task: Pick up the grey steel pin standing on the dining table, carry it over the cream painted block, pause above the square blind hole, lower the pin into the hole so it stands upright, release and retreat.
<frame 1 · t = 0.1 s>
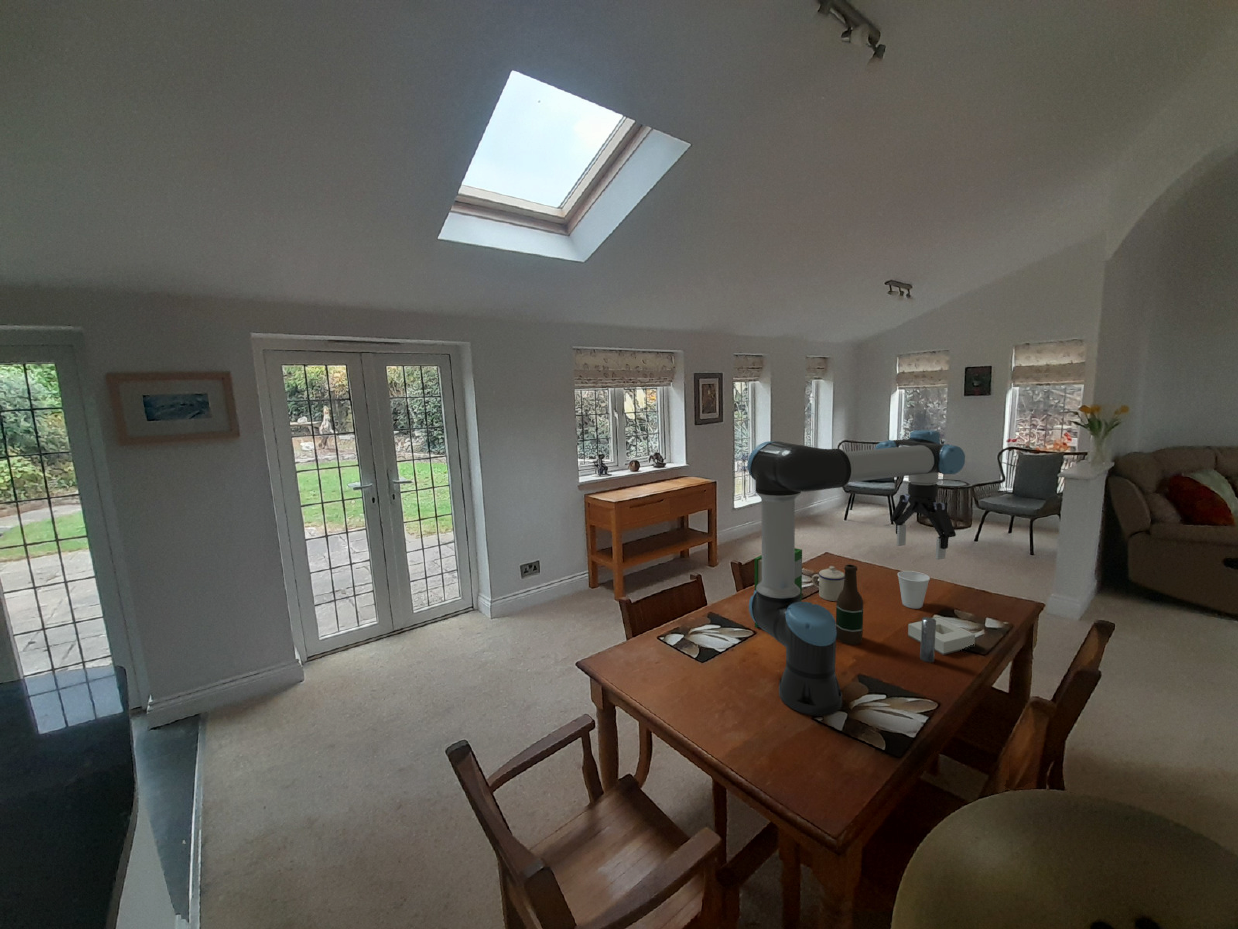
hand: (919, 551, 148), 28 cm above the table, fingers open, 13 cm apart
cup: (912, 606, 174), on the table
bore block: (940, 641, 150), on the table
teacup with lid: (827, 596, 185), on the table
pin: (927, 659, 141), on the table
beer bottle: (848, 639, 153), on the table
hardback book: (778, 622, 167), on the table
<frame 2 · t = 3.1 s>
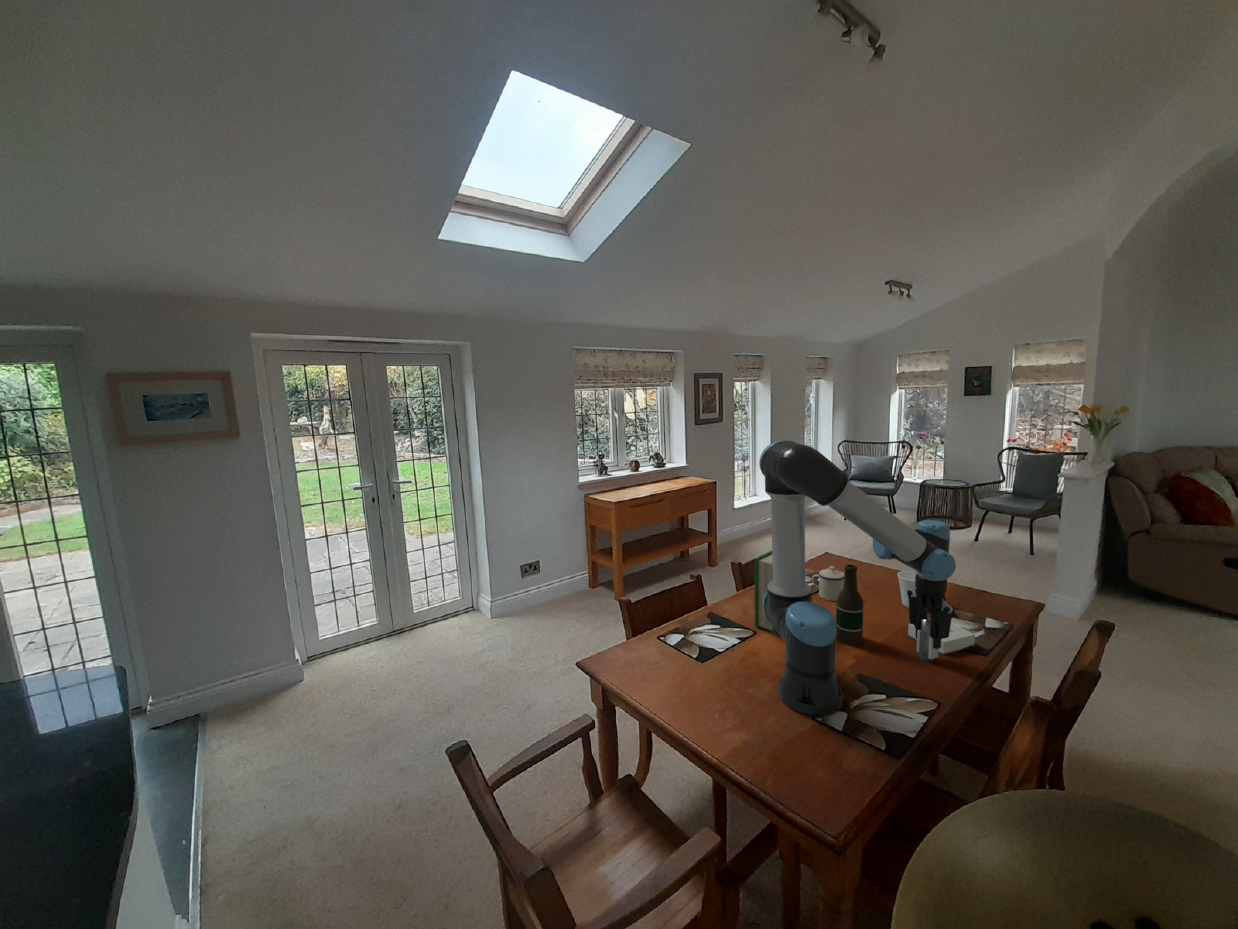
hand: (927, 654, 140), 2 cm above the table, fingers closed on pin, 3 cm apart
pin: (926, 659, 141), on the table, touching gripper
everything else where it was.
when the fingers open (5 cm above the table, at t = 8.0 s): pin stays where it is, resting on bore block.
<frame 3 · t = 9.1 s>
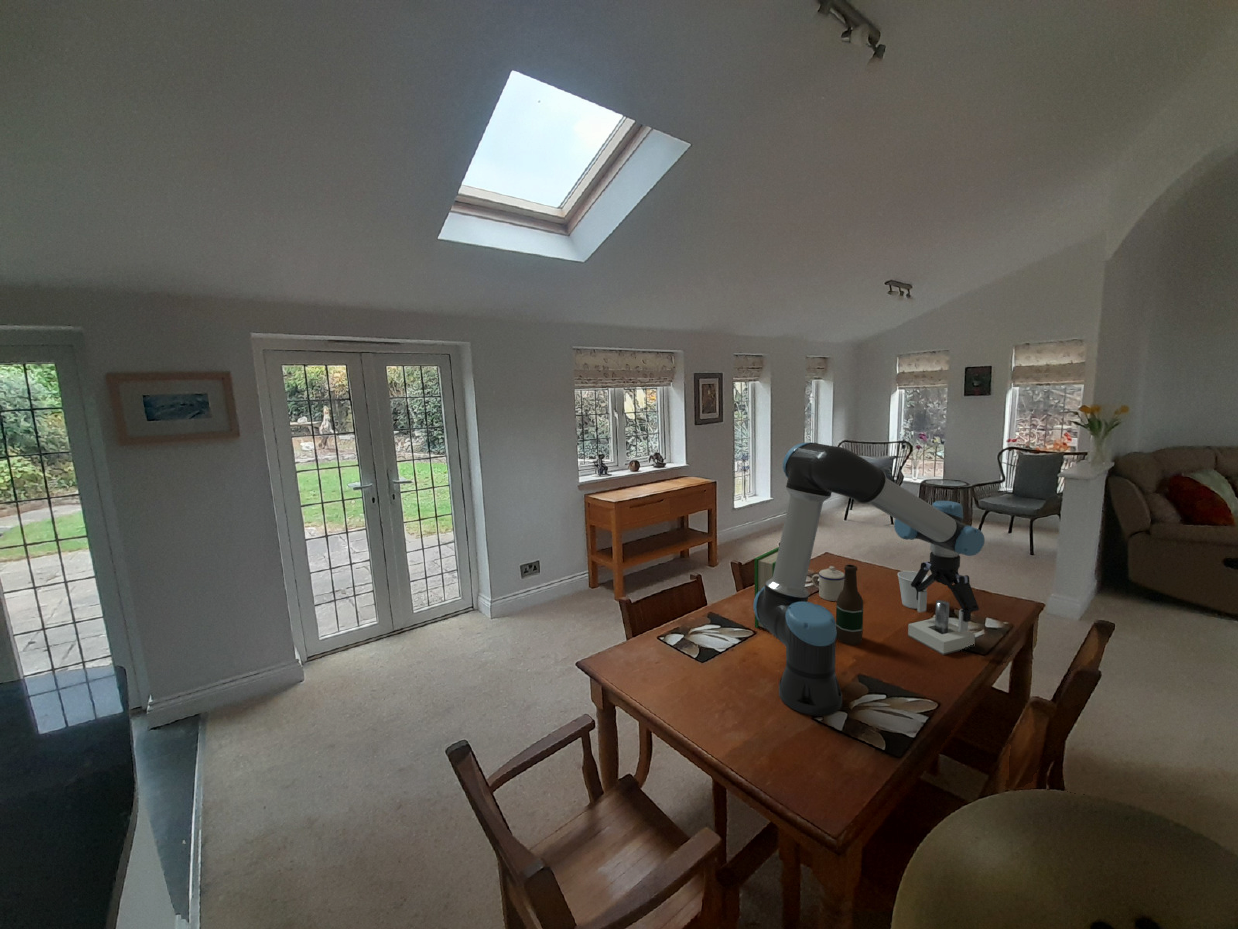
hand: (941, 620, 149), 7 cm above the table, fingers open, 13 cm apart
pin: (940, 639, 150), resting on bore block
everything else where it was.
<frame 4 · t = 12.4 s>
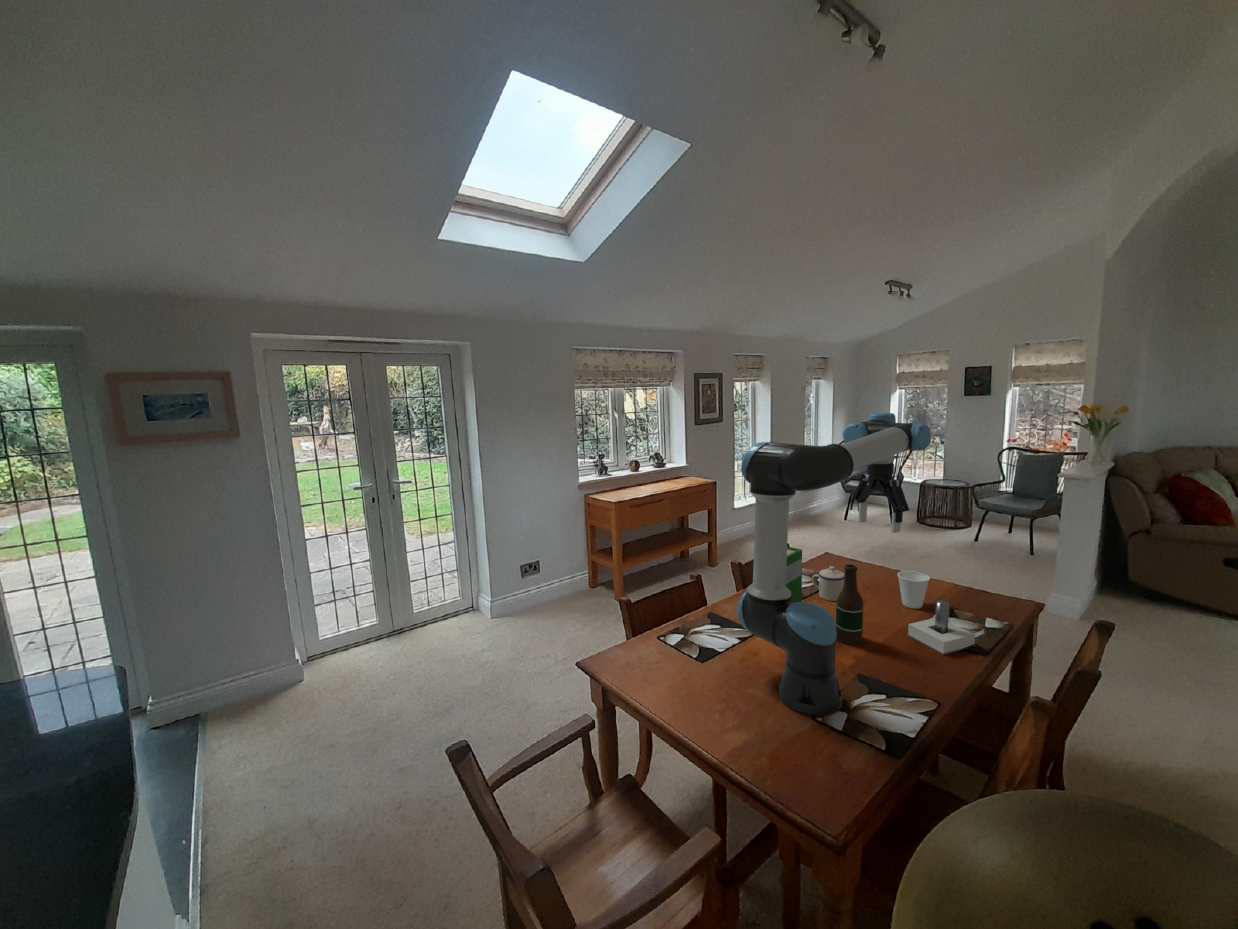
hand: (878, 526, 159), 33 cm above the table, fingers open, 13 cm apart
nothing on the table moved.
at the end: pin 0.1 cm off-centre on the bore block, point 0.5 cm above the bore block's base; pin tilted 0°; the gripper is holding nothing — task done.
